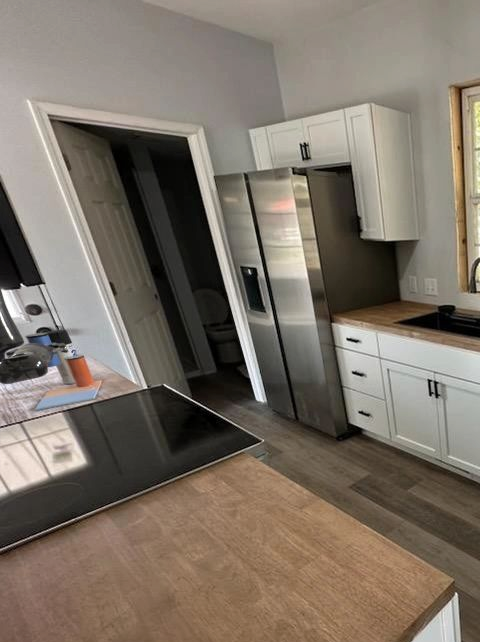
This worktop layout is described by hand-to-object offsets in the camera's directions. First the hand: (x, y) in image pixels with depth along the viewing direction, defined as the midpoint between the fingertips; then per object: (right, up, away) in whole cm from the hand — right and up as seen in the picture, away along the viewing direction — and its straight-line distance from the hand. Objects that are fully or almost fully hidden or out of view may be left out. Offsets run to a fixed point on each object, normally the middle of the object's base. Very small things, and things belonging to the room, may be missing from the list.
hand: (44, 346), depth 141 cm
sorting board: (+4, -17, +5) cm, 18 cm away
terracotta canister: (+1, -13, +13) cm, 18 cm away
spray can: (-9, -12, +19) cm, 24 cm away
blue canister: (+2, -6, 0) cm, 7 cm away
